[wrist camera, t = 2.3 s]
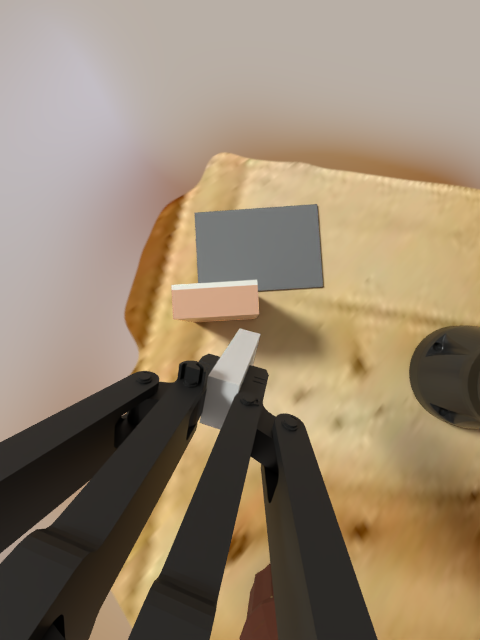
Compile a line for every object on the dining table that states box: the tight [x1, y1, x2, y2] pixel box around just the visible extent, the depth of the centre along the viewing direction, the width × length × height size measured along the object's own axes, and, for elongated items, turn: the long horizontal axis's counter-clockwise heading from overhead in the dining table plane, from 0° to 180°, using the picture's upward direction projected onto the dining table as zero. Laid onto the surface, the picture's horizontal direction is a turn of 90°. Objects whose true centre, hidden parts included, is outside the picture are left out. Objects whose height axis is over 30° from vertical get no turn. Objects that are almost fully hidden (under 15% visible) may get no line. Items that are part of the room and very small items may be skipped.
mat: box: [195, 204, 323, 291], centre depth 42 cm, size 14×20×1 cm
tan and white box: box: [172, 280, 259, 322], centre depth 36 cm, size 4×10×12 cm, turn 93°
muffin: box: [240, 564, 278, 640], centre depth 35 cm, size 12×11×10 cm
